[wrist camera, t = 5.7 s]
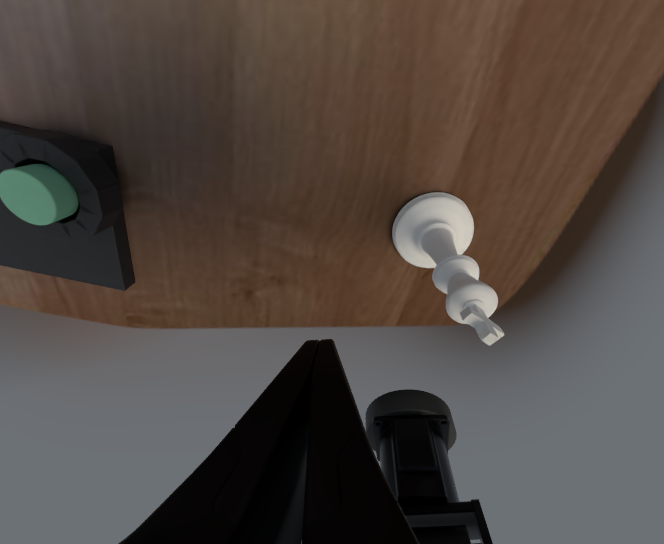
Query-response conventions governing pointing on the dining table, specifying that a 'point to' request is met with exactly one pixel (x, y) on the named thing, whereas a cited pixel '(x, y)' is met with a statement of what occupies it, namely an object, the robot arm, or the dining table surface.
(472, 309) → the chess piece
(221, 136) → the dining table surface
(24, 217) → the button
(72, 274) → the black button base
